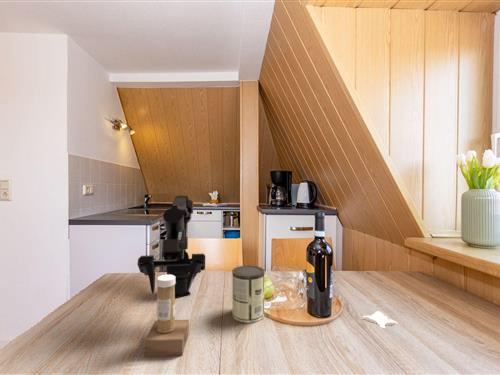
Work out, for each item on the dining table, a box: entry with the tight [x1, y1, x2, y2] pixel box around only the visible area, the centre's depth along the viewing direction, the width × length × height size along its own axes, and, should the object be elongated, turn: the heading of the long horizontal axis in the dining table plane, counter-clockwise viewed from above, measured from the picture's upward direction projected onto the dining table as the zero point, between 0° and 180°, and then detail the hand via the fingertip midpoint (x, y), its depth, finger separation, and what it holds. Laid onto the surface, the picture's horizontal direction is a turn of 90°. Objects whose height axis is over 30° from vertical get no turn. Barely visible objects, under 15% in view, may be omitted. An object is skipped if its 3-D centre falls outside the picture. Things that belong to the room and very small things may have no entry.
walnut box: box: [143, 319, 190, 358], centre depth 67 cm, size 9×9×4 cm
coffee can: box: [231, 265, 266, 324], centre depth 83 cm, size 10×10×14 cm
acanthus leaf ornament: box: [361, 311, 399, 329], centre depth 79 cm, size 8×7×2 cm
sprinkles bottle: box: [156, 274, 176, 333], centre depth 67 cm, size 5×5×14 cm
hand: (170, 291), depth 71 cm, fingers open, 9 cm apart
